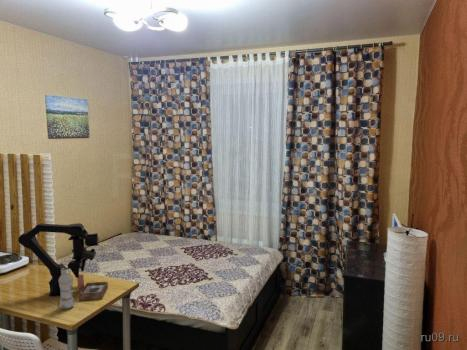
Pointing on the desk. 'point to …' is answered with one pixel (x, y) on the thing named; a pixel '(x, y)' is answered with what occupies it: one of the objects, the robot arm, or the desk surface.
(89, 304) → the desk surface
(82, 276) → the peg
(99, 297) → the square frame
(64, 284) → the plastic bottle
